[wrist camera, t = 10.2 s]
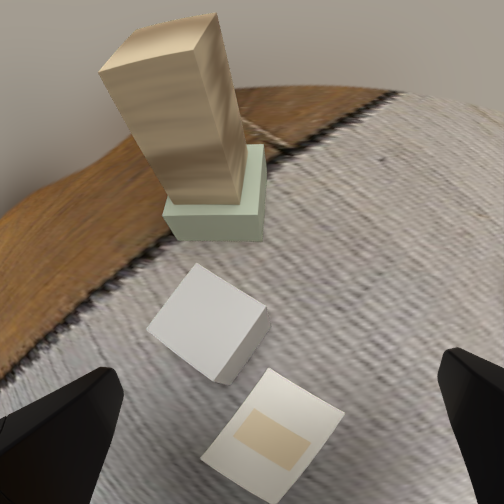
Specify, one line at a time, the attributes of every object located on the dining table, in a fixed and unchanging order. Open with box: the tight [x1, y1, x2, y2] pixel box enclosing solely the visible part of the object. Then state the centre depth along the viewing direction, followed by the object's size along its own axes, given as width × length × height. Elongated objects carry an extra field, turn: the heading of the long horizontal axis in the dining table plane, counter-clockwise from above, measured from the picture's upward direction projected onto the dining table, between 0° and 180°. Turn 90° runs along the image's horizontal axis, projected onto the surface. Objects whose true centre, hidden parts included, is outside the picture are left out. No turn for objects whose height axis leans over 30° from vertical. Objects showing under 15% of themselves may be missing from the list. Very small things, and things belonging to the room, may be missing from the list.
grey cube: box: [146, 263, 271, 385], centre depth 19 cm, size 5×5×5 cm
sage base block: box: [162, 144, 267, 242], centre depth 25 cm, size 7×7×4 cm
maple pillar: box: [98, 13, 248, 205], centre depth 17 cm, size 5×5×12 cm
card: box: [200, 368, 345, 504], centre depth 17 cm, size 8×6×1 cm
